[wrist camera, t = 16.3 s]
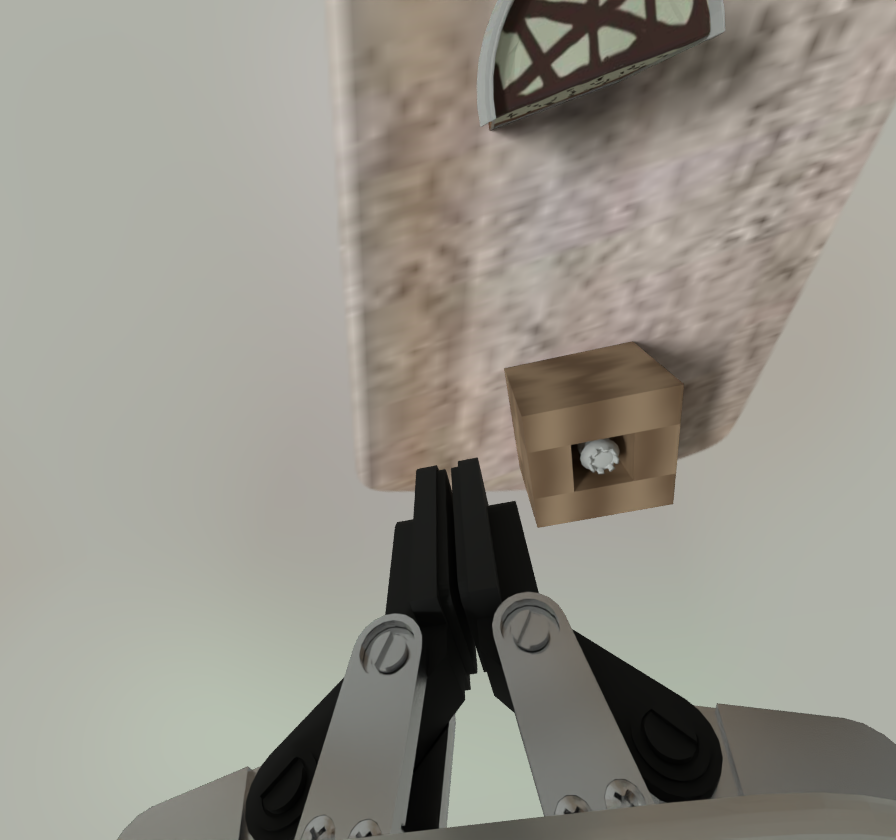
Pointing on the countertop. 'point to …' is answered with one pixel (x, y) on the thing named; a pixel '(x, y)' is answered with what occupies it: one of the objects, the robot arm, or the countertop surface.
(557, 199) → the countertop surface
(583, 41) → the food container
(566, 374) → the socket block
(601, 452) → the rook chess piece
